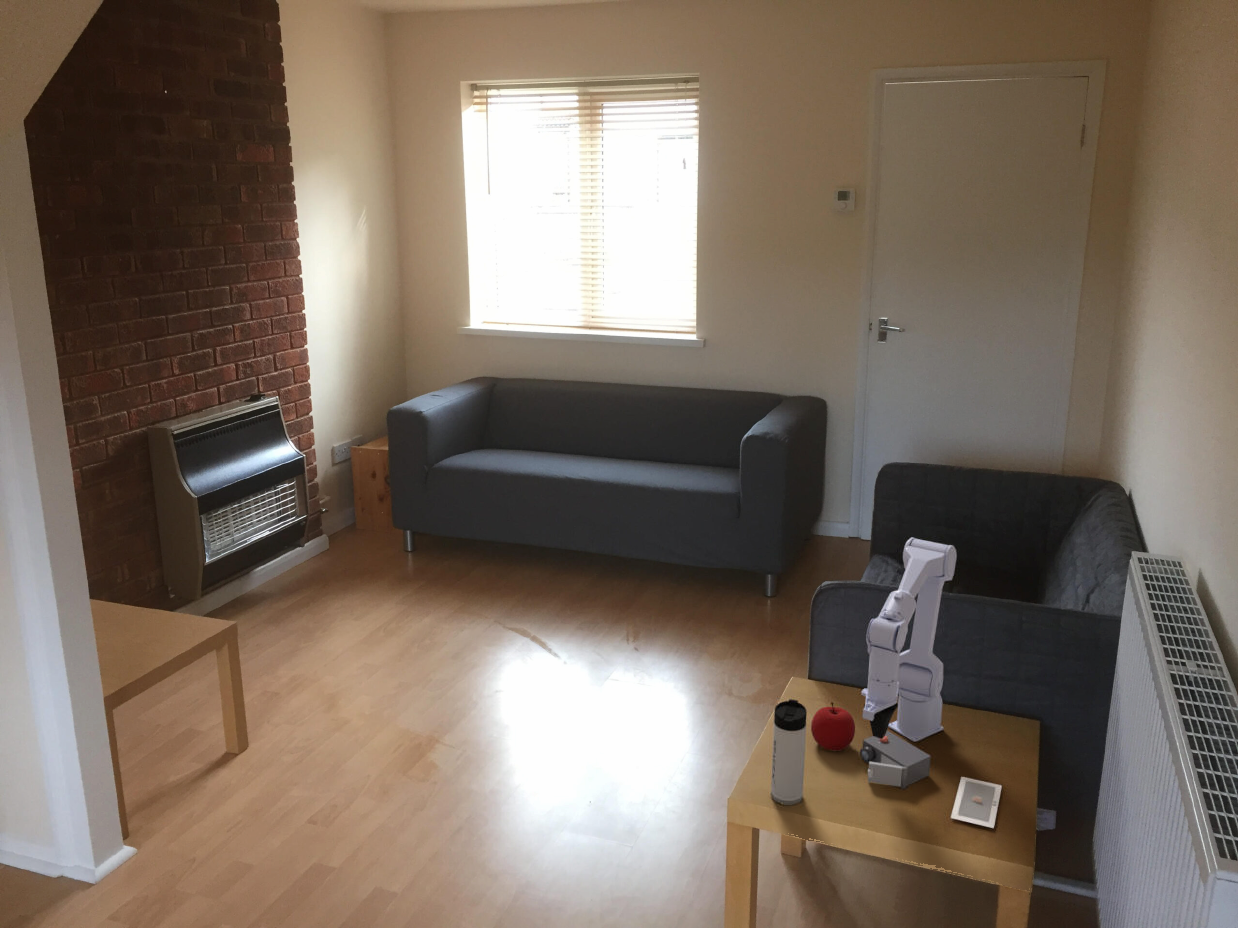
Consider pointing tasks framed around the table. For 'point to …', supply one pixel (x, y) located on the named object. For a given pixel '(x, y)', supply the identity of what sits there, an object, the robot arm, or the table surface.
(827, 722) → the apple
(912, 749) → the camera body
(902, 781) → the door
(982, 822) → the touchpad
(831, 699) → the table surface
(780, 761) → the travel mug
